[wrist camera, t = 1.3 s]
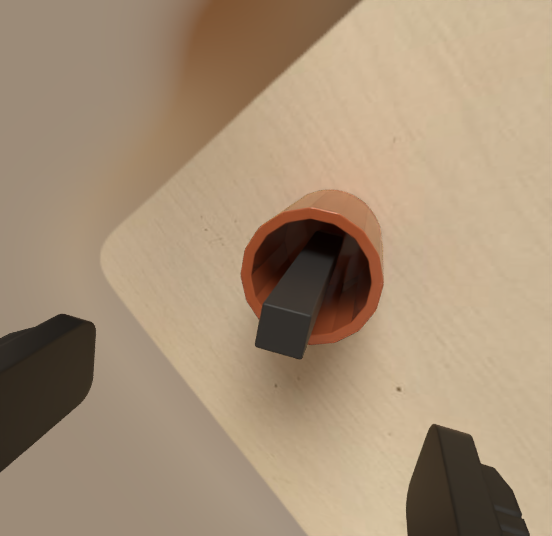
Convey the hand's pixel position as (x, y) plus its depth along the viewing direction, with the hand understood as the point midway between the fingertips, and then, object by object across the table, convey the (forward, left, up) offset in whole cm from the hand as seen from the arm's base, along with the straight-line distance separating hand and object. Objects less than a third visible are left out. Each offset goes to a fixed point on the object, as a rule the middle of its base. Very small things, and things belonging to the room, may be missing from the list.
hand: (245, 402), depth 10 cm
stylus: (0, 0, -17) cm, 17 cm away
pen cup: (0, 0, -18) cm, 18 cm away
